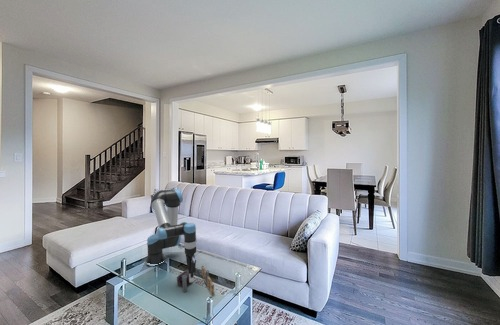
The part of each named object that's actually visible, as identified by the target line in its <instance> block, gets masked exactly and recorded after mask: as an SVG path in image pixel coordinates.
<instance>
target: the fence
mask: <svg viewBox="0 0 500 325" xmlns="http://www.w3.org/2000/svg"><path fill="white" fill-rule="evenodd" d="M206 287H207V289H208V290H209V293H210V294H211V296H212V297H213V296H215V284H214V282H213V280H212V279H211V277H210V275H209V276H207V286H206Z"/></svg>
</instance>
